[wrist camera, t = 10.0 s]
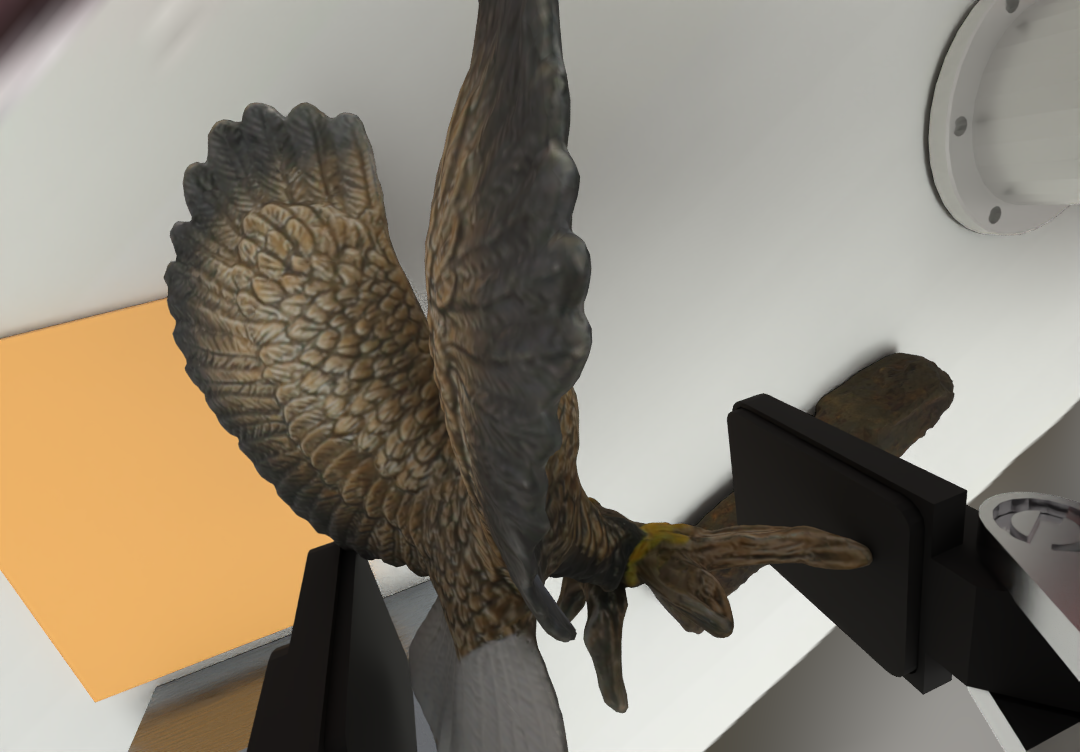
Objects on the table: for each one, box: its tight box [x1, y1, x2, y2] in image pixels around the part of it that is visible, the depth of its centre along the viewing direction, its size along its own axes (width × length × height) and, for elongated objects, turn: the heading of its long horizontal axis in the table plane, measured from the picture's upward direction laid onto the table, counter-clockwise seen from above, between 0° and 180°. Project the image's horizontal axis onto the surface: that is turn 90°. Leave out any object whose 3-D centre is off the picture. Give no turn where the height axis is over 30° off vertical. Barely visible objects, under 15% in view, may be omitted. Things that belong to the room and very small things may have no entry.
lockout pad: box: [0, 298, 334, 702], centre depth 20 cm, size 11×14×1 cm
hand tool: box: [650, 353, 954, 634], centre depth 28 cm, size 19×4×5 cm, turn 126°
